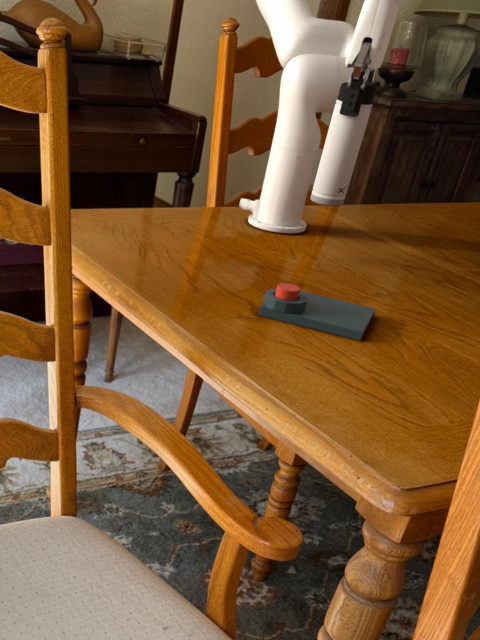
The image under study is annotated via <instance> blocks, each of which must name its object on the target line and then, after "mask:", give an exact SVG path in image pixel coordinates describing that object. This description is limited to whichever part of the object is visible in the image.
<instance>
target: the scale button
mask: <svg viewBox="0 0 480 640" xmlns="http://www.w3.org/2000/svg"><path fill="white" fill-rule="evenodd" d="M275 288H276V292H275V297H277V298H279V299H283V300H288V301H295V300H298V296H299V293H300V291H301V288H300V287H299V286H298V285H296V284H293V283H287V282H281V283H278V284H277V286H276V287H275Z"/></svg>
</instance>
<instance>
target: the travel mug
mask: <svg viewBox="0 0 480 640" xmlns="http://www.w3.org/2000/svg"><path fill="white" fill-rule="evenodd" d="M347 85H348V82H346V83H342V85H341V86H340V90H339V95H338V97H337V100H336V104H335V107H334V111H333V113H332V116H331V119H330V122H329V127H328V130H327V134H326V137H325V142H324V146H323V149H322V153H321V157H320V160H319V164H318V168H317V172H316V176H315V179H314V183H313V187H312V191H311V194H310V201H312V203H315V204H318V205H321V206H327V207H341V206H343V205H344V204H345V200H346V195H347V193H348V191H349V187H350V183H351V180H352V176H353V172H354V170H355V166H356V163H357V160H358V156H359V152H360V149H361V145H362V142H363V139H364V135H365V132H366V128H367V125H368V122H369V119H370V115H371V112H372V108H373V104H374V98H375V97H376V92H377V88H381V82H380V81H377V80H375V81H374V80H373V82H366V84H365V87H364V90H365V94H364V97H363V101H362V104H361V108H360V111H359V115H358V116H357V117H352V116H346V115H341V114H340V109H341V105H342V101H343V98H344V94H345V90H346V88H347Z"/></svg>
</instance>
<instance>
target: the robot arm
mask: <svg viewBox="0 0 480 640" xmlns="http://www.w3.org/2000/svg"><path fill="white" fill-rule="evenodd" d="M401 1H405V2H408V1H409V0H364V1H363V4H362V7H361V11H360V13H359V16H358V19H357V22H356V25H355V27H354V26H353V25H352V24H351V23H349V22H346V21H343V20H334V19H326V18H325V19H324V18H320V17H316V16H315V15H314V14H313V12H312V9H311V6H310V3H309V2H308V0H255V3H256V5H257V8H258V10H259V12H260V14H261V16H262V18H263V19H264V21H265V23H266V25H267V27H268V31H269V33H270V37H271V39H272V43H273V47H274V50H275V53H276V57H277V59H278V62H279V64H280V66H281V67H282V69H283V70H282V74H281V77H280V83H279V84H280V85H279V96H278V97H279V98H278V99H279V100H278V109H277V117H276V123H275V127H274V133H273V137H272V142H271V146H270V150H269V155H268V161H267V165H266V170H265V175H264V177H263V182H262V183H263V184H262V188H261V192H260V197H259V198H258V199H255V200H251V199H249V198H244V197H241V198H240V201H239V203H238V204H239V205H238V207H239V208H241V210H244V211H249V212H250V211H251V214H249V215H248V220H247V223H249V225H251V226H253V227H255V228H258V229H260V230H264V231H267V232H272V233H278V234H300V233H303V232H305V231H306V230H307V222H306V221H304V220H302V216H303V212H304V209H305V204H306V200H307V197H308V193H309V188H310V184H311V181H312V177H313V174H314V169H315V165H316V162H317V158H318V153H319V149H320V146H321V141H322V139H321V138H322V133H321V129H320V126H319V122H318V120H317V115H316V114H317V113H319V114H321V113H324V114H325V113H327V114H333V111H334V107H335V104H336V100H337V97H338V95H339V90H340V86H341V85H342V83H346V82H348V85H347V88H346V90H345V94H344V98H343V101H342V105H341V109H340V114H341V115H346V116H352V117H357V116H358V115H359V111H360V108H361V104H362V101H363V97H364V94H365V90H364V87H365V84H366V82H374V79H375V76H376V72H377V69H379V68H381V66H382V64H383V62H384V59H385V55H386V53H387V50H388V47H389V44H390V39H391V37H392V33H393V30H394V27H395V23H396V19H397V16H398V13H399V9H400V5H401Z"/></svg>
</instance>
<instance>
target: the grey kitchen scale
mask: <svg viewBox="0 0 480 640" xmlns="http://www.w3.org/2000/svg"><path fill="white" fill-rule="evenodd" d="M276 288H277V287H275V288H269V289H267V290H266V291H265V293H264V296H263V299H262V303H263V304H262V305H261V306H260V308H259V312H258V316H260V317H264V318H269V319H273V320H277V321H281V322H283V323H284V322H285V323H289V324H293V325H296V326H301V327H305V328H308V329H313V330H315V331H316V330H317V331H319V332H320V331H321V332H325V333H328V334H332V335H336V336H339V337H340V336H341V337H343V338H348V339H352V340H356V341H361V340H362V338H363V336H364V335H365V333H366V331H367V329H368V327H369V326H370V324H371V322H372V320H373V318H374V315H375V313H376V308H374V307H369V306H366V305H362V304H357V303H353V302H348V301H344V300H340V299H336V298H332V297H328V296H322V295H319V294H315V293H311V292H306V291H302V290H300V293H299V296H298V300H295V301H288V300H283V299H279V298H277V297H275V292H276Z"/></svg>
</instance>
